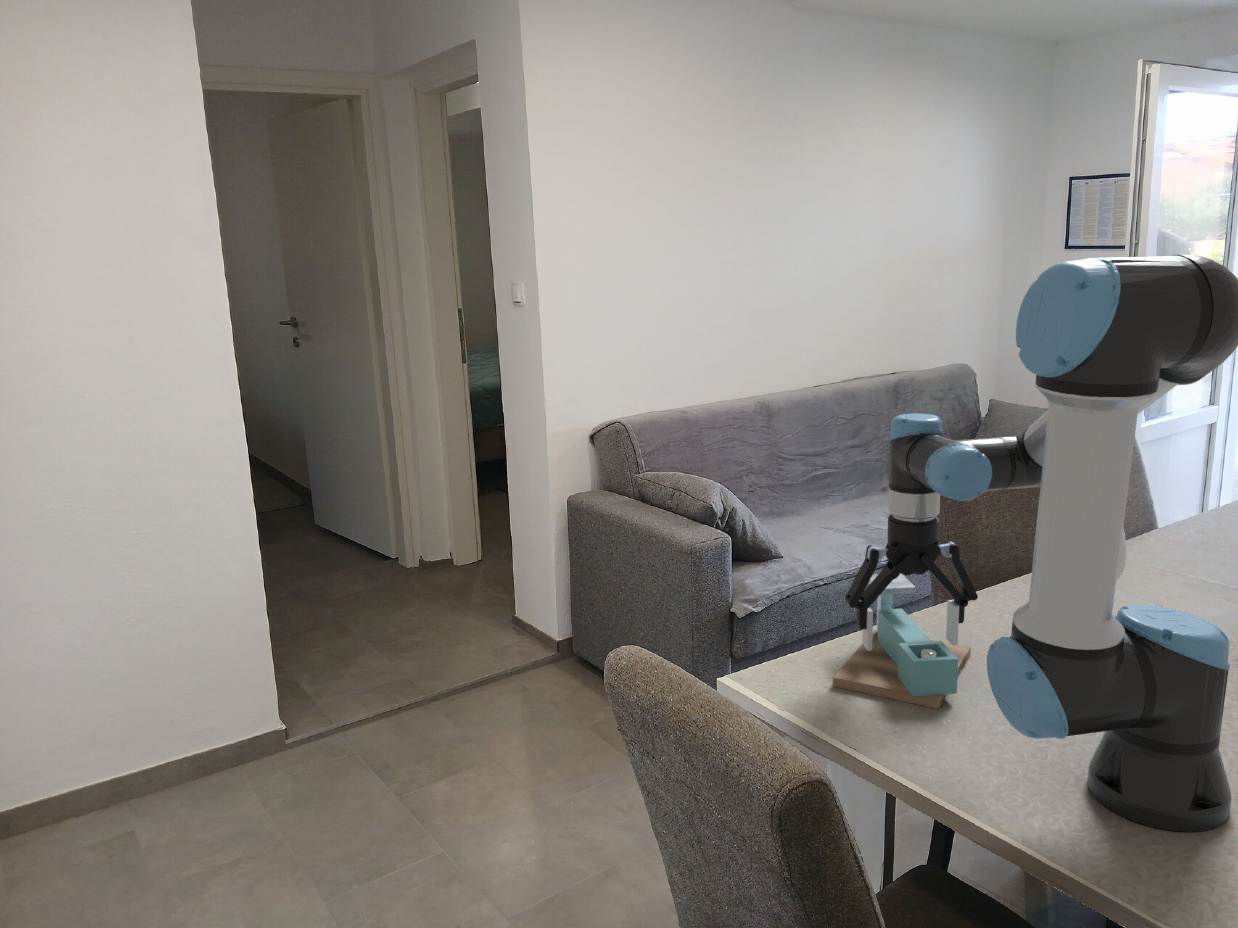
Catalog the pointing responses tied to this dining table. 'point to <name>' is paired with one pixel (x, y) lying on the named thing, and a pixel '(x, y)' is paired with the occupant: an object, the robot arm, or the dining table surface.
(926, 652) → the cylinder
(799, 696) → the dining table surface
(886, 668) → the board
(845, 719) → the dining table surface
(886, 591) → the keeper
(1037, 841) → the dining table surface
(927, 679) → the link
